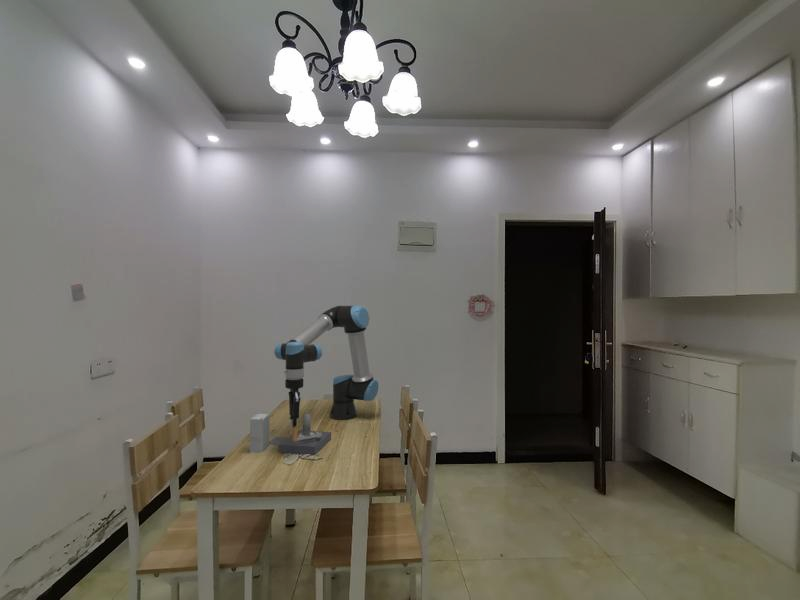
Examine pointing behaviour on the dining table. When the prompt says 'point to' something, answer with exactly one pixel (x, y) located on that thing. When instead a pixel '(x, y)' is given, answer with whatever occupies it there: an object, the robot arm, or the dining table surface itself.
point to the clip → (295, 438)
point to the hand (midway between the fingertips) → (293, 433)
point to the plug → (306, 425)
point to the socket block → (305, 444)
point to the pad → (277, 440)
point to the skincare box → (259, 433)
